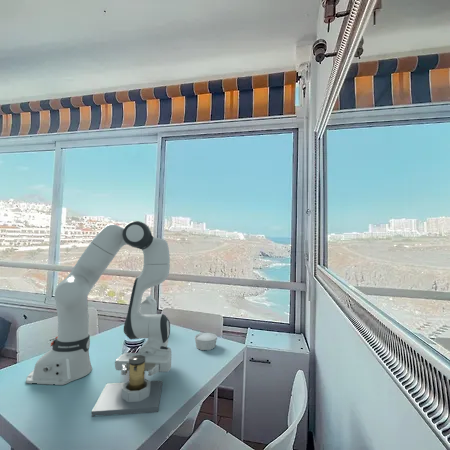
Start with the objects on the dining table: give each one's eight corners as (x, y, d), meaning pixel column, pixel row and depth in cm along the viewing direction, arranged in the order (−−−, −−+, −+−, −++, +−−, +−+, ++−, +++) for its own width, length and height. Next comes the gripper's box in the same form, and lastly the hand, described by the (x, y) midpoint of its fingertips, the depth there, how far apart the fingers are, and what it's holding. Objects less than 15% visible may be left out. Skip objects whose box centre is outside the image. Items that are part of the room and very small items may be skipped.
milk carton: (139, 329, 162) (140, 297, 163) (145, 325, 169) (146, 294, 170) (151, 330, 161) (152, 297, 162) (156, 326, 168) (157, 294, 169)
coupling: (142, 400, 92) (143, 363, 93) (125, 401, 92) (126, 364, 92) (146, 387, 100) (146, 353, 100) (130, 388, 99) (131, 354, 100)
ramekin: (196, 342, 145) (196, 332, 146) (217, 342, 145) (217, 332, 145) (193, 351, 134) (193, 340, 134) (216, 352, 134) (216, 341, 134)
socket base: (91, 416, 86) (91, 401, 86) (106, 387, 102) (106, 375, 102) (157, 411, 89) (158, 397, 89) (162, 384, 105) (162, 372, 105)
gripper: (123, 346, 110) (107, 362, 96) (174, 348, 109) (166, 364, 96) (123, 362, 110) (106, 381, 96) (174, 364, 109) (165, 383, 95)
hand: (136, 373), depth 96 cm, fingers open, 8 cm apart
